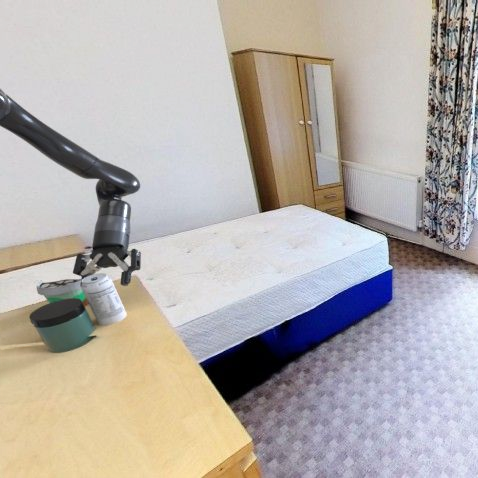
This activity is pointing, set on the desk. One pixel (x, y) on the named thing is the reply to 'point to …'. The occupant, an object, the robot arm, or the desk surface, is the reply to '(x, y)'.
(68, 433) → the desk surface
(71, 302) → the jar lid
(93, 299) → the energy drink can
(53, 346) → the jar
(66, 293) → the food container
